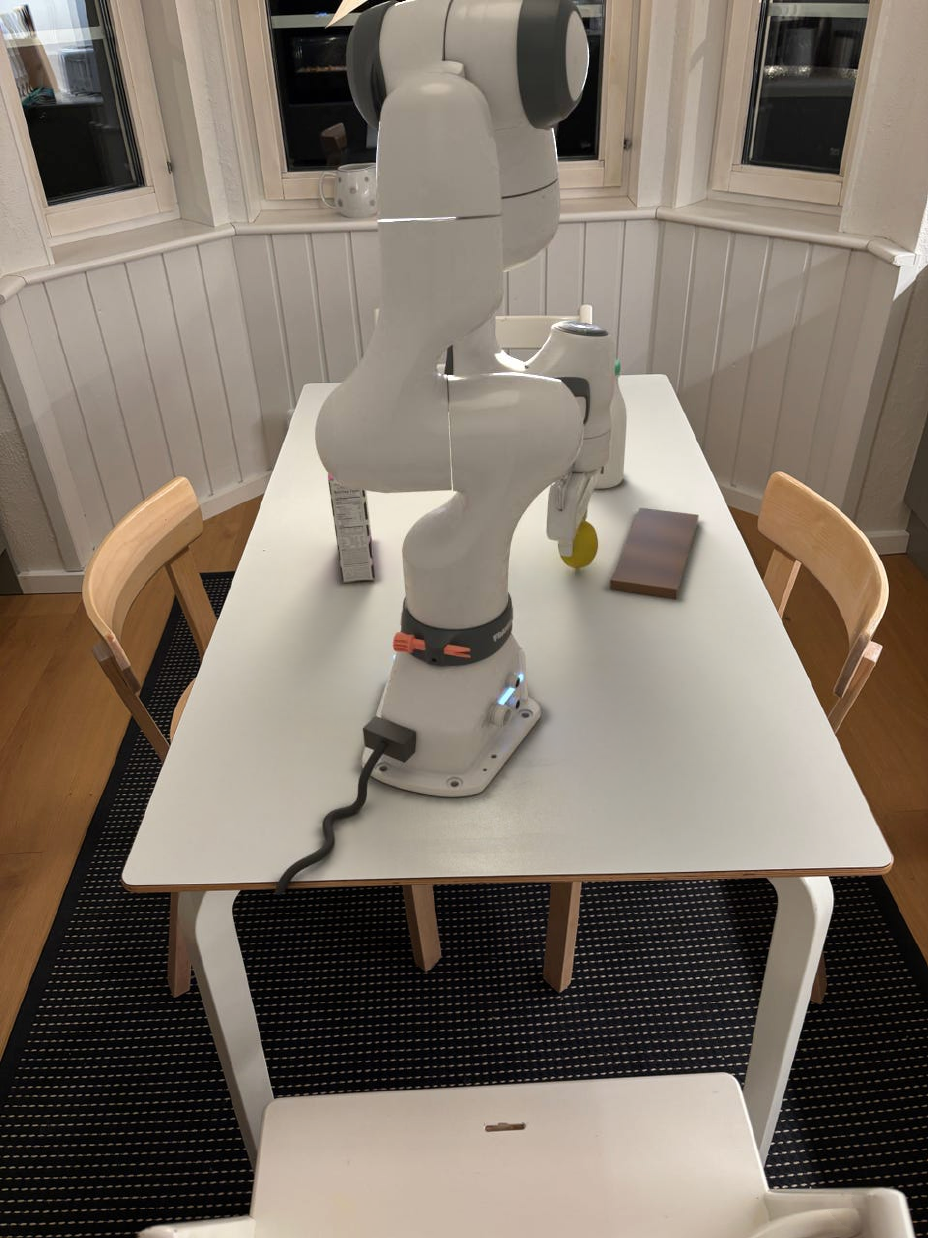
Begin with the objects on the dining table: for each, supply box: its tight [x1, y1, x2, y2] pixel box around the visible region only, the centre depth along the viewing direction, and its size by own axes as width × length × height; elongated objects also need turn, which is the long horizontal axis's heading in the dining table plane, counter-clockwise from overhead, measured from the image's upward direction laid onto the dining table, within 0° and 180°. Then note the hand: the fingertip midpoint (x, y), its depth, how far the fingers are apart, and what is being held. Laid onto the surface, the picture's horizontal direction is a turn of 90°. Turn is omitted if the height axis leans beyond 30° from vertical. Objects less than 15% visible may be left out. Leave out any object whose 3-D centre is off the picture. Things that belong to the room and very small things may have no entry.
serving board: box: [609, 507, 699, 600], centre depth 137 cm, size 22×9×2 cm, turn 161°
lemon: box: [557, 520, 599, 570], centre depth 133 cm, size 6×6×8 cm
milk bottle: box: [595, 359, 628, 489], centre depth 153 cm, size 8×8×20 cm
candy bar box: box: [327, 473, 376, 584], centre depth 134 cm, size 11×5×16 cm, turn 7°
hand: (573, 536), depth 133 cm, fingers open, 8 cm apart
